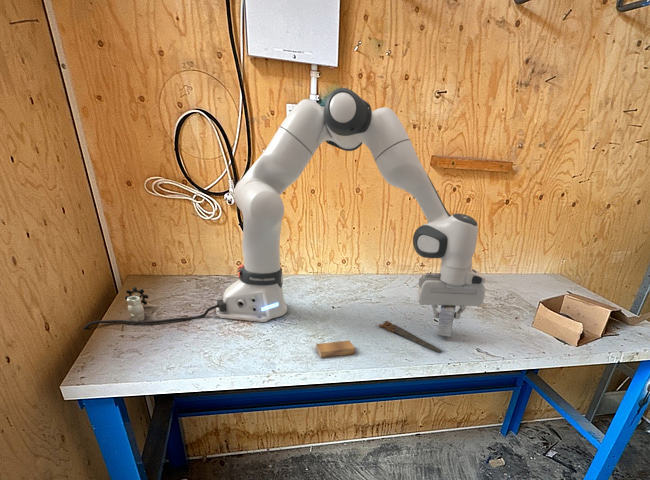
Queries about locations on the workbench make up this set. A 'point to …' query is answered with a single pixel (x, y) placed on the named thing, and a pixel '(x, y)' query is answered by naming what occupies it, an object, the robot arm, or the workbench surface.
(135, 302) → the valve
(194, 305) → the workbench surface
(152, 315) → the workbench surface
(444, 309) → the medicine box
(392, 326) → the hand saw
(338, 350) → the plywood offcut
